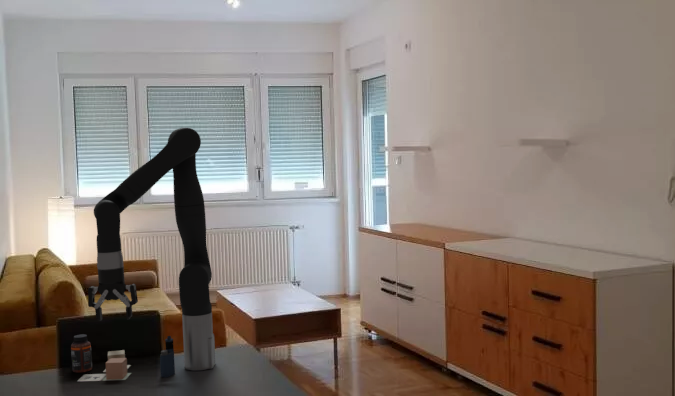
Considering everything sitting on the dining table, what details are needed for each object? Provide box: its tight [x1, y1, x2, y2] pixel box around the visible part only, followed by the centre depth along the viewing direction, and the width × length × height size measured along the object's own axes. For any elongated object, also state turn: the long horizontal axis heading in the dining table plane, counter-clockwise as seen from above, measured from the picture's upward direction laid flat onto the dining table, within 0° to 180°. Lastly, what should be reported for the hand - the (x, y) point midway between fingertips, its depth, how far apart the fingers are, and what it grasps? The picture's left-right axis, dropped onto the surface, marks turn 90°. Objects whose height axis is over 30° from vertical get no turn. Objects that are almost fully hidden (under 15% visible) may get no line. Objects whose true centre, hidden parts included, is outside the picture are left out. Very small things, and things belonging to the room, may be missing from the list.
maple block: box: [107, 349, 126, 361], centre depth 241 cm, size 5×5×5 cm
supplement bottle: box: [70, 333, 93, 373], centre depth 240 cm, size 6×6×11 cm
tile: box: [102, 364, 132, 373], centre depth 241 cm, size 7×7×1 cm
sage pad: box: [101, 372, 132, 382], centre depth 232 cm, size 7×7×1 cm
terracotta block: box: [105, 357, 128, 379], centre depth 232 cm, size 5×5×5 cm
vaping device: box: [159, 335, 176, 378], centre depth 232 cm, size 3×5×12 cm, turn 155°
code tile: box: [77, 373, 106, 382], centre depth 232 cm, size 7×7×1 cm
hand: (114, 319), depth 230 cm, fingers open, 8 cm apart
